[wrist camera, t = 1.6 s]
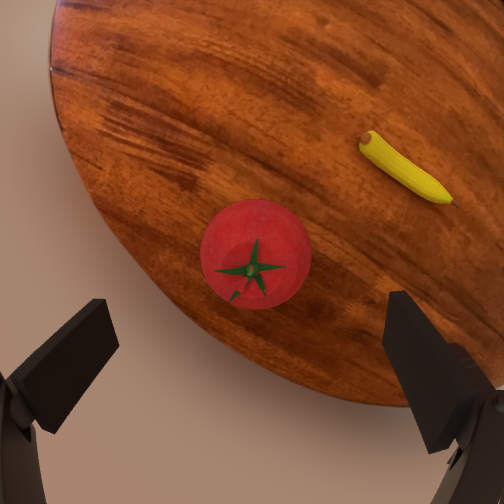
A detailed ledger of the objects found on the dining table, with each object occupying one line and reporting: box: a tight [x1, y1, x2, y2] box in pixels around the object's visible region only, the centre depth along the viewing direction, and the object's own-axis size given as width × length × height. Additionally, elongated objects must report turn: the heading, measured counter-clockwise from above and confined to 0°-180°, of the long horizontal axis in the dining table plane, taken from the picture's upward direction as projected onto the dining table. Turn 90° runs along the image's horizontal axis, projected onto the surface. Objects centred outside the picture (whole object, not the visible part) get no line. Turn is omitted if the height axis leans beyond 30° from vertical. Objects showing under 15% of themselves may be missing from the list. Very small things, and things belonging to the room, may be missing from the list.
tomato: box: [200, 199, 312, 310], centre depth 23 cm, size 9×9×8 cm
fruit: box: [359, 131, 461, 208], centre depth 22 cm, size 10×2×5 cm, turn 63°
